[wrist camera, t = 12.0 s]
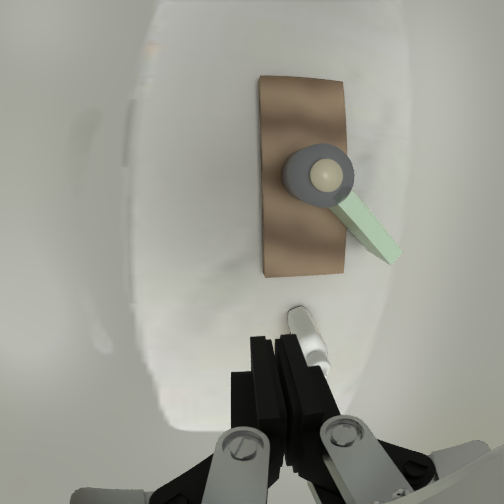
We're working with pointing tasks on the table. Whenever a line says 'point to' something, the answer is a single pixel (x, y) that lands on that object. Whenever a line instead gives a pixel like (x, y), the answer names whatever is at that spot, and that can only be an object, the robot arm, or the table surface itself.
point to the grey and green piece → (336, 195)
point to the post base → (272, 160)
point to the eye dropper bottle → (309, 338)
